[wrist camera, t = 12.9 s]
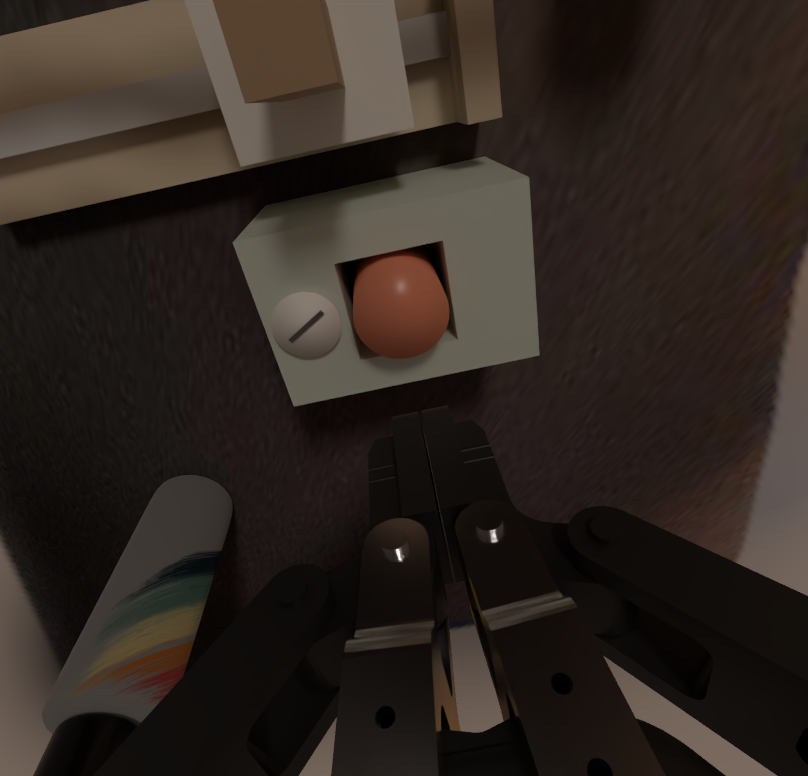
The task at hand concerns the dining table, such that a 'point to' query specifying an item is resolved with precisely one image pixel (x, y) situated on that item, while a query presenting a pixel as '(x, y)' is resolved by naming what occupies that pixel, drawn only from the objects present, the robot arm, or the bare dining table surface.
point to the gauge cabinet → (381, 233)
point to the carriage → (303, 72)
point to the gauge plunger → (399, 303)
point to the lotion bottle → (138, 627)
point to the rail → (185, 100)
